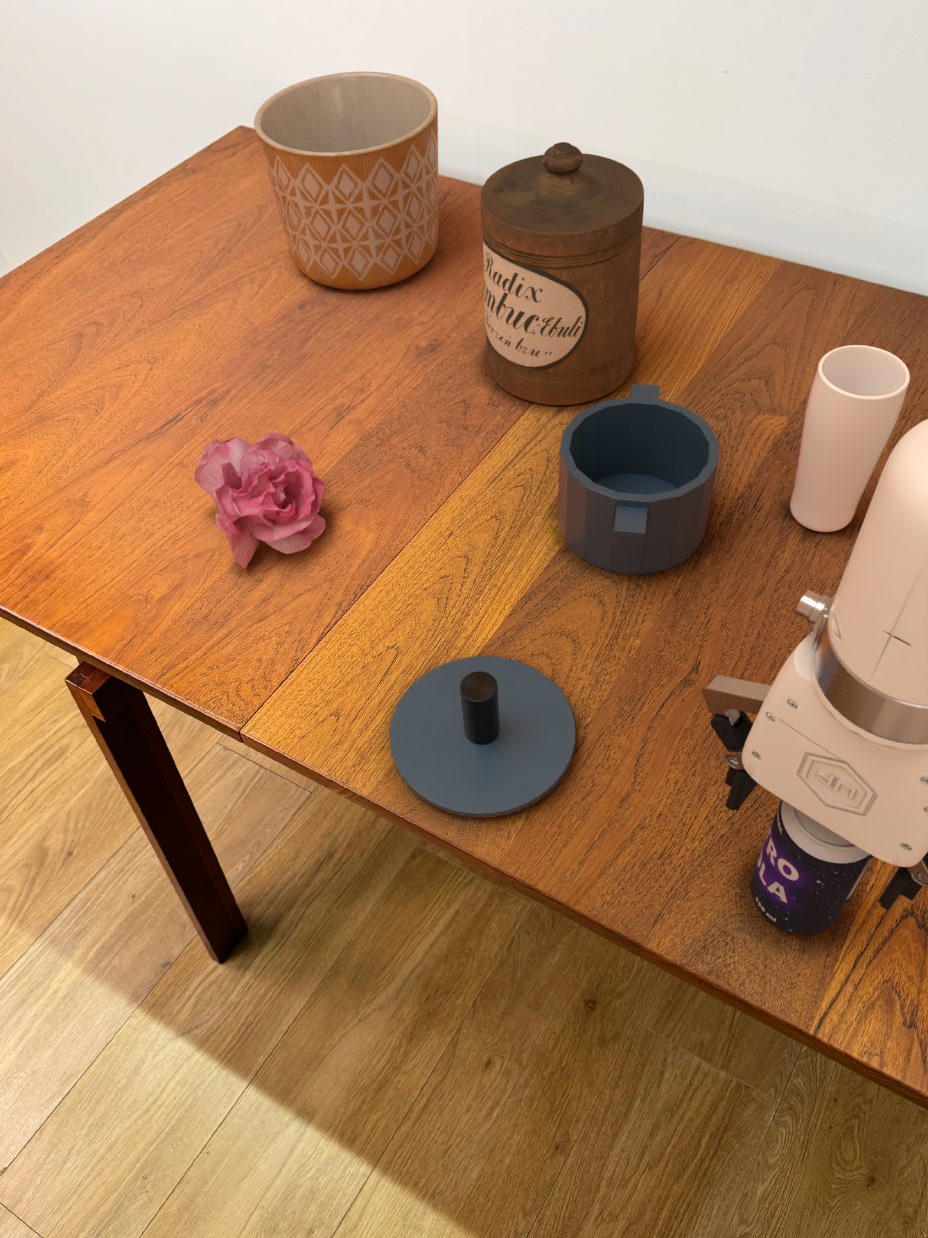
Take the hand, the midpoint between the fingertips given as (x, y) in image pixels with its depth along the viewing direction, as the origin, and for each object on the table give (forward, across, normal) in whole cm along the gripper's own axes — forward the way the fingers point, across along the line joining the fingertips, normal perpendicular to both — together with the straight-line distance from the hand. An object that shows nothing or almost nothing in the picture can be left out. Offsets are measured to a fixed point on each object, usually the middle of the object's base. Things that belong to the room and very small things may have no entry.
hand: (815, 839), depth 58 cm
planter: (+9, -77, +40) cm, 87 cm away
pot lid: (+8, -23, -3) cm, 25 cm away
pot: (+8, -27, +22) cm, 36 cm away
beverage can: (+8, 0, 0) cm, 9 cm away
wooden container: (+9, -46, +37) cm, 60 cm away
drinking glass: (+8, -15, +33) cm, 37 cm away
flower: (+9, -52, +3) cm, 53 cm away
